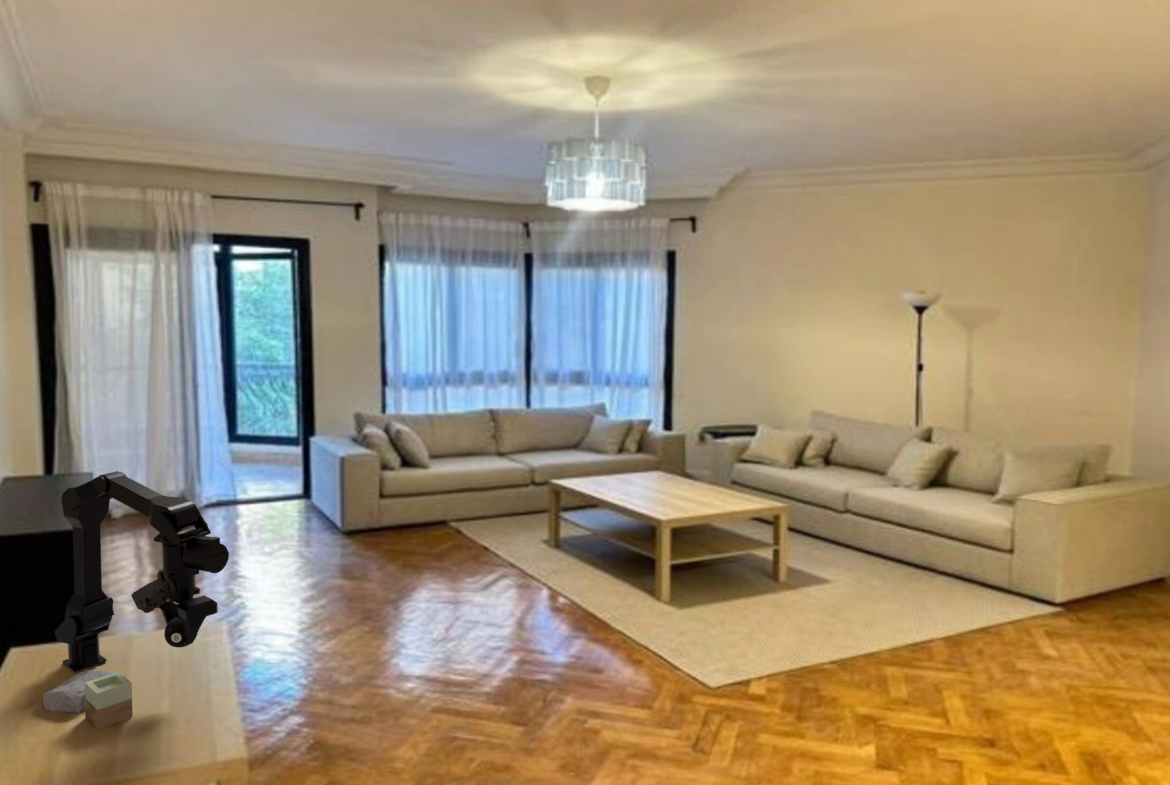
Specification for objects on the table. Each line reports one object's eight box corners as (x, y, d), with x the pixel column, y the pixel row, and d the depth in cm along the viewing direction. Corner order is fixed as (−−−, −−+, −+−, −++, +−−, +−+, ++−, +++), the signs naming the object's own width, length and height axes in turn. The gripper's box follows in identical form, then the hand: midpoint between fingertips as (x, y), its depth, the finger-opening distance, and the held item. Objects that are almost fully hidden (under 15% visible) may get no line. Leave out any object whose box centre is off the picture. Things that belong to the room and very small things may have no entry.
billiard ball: (202, 638, 170) (201, 611, 169) (192, 652, 164) (191, 623, 163) (171, 639, 169) (170, 611, 168) (160, 652, 163) (159, 624, 162)
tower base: (85, 718, 156) (84, 699, 156) (119, 706, 161) (118, 687, 160) (98, 730, 153) (97, 710, 152) (132, 717, 157) (131, 697, 157)
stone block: (38, 718, 159) (81, 715, 157) (33, 694, 159) (76, 691, 157) (86, 691, 171) (127, 687, 169) (82, 668, 171) (123, 665, 168)
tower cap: (85, 698, 156) (84, 682, 156) (119, 687, 160) (118, 671, 160) (97, 709, 152) (96, 693, 152) (132, 698, 157) (131, 682, 156)
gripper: (115, 563, 163) (118, 638, 166) (159, 587, 152) (162, 667, 154) (171, 550, 172) (174, 621, 174) (218, 572, 161) (220, 648, 163)
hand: (181, 639), depth 166 cm, fingers closed on billiard ball, 6 cm apart
